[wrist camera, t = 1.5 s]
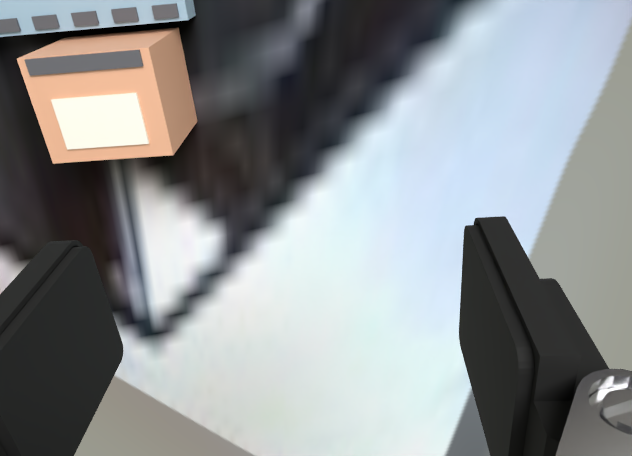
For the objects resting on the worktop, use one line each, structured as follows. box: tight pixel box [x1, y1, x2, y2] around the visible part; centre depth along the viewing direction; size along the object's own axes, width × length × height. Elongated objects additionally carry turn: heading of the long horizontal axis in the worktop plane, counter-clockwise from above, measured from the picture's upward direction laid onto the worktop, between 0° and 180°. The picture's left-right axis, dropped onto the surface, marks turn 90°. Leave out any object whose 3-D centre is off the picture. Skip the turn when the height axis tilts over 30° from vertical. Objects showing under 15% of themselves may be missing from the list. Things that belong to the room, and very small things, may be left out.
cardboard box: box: [17, 27, 197, 164], centre depth 27 cm, size 5×6×5 cm
